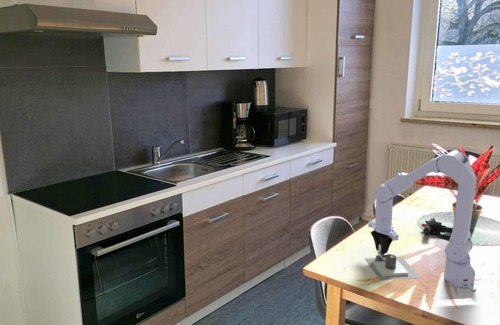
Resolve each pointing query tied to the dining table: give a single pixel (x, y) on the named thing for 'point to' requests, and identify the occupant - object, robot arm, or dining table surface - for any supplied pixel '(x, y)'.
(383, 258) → the bolt
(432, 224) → the black power drill
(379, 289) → the dining table surface
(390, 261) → the lid
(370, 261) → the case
